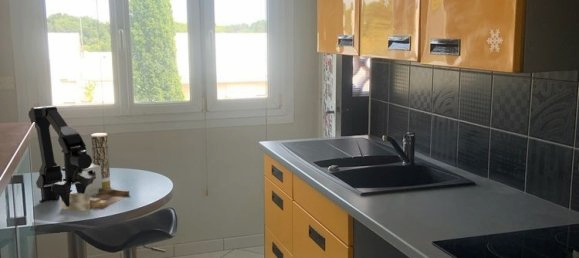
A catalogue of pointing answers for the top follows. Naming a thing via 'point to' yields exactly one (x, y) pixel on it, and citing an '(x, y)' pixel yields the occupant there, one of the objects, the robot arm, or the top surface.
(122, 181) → the top surface
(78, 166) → the robot arm
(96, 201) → the offcut stack
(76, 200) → the birch panel
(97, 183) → the supplement box
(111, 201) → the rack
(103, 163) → the log
